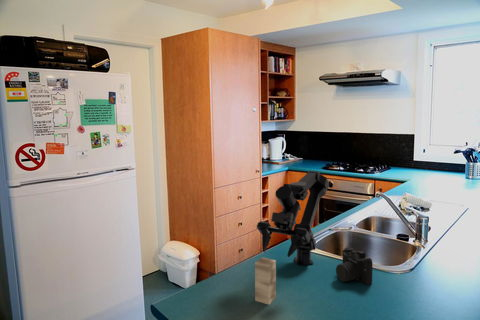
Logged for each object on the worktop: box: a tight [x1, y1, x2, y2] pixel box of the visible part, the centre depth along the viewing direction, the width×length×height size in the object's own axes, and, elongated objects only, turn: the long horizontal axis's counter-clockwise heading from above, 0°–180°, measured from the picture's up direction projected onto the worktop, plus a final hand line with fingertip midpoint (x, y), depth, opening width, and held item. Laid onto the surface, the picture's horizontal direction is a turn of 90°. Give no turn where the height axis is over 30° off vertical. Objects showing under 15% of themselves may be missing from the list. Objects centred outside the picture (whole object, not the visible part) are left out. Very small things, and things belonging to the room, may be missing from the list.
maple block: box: [254, 256, 277, 305], centre depth 118 cm, size 5×5×13 cm
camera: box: [335, 247, 373, 286], centre depth 132 cm, size 14×11×10 cm
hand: (275, 253), depth 124 cm, fingers open, 9 cm apart
